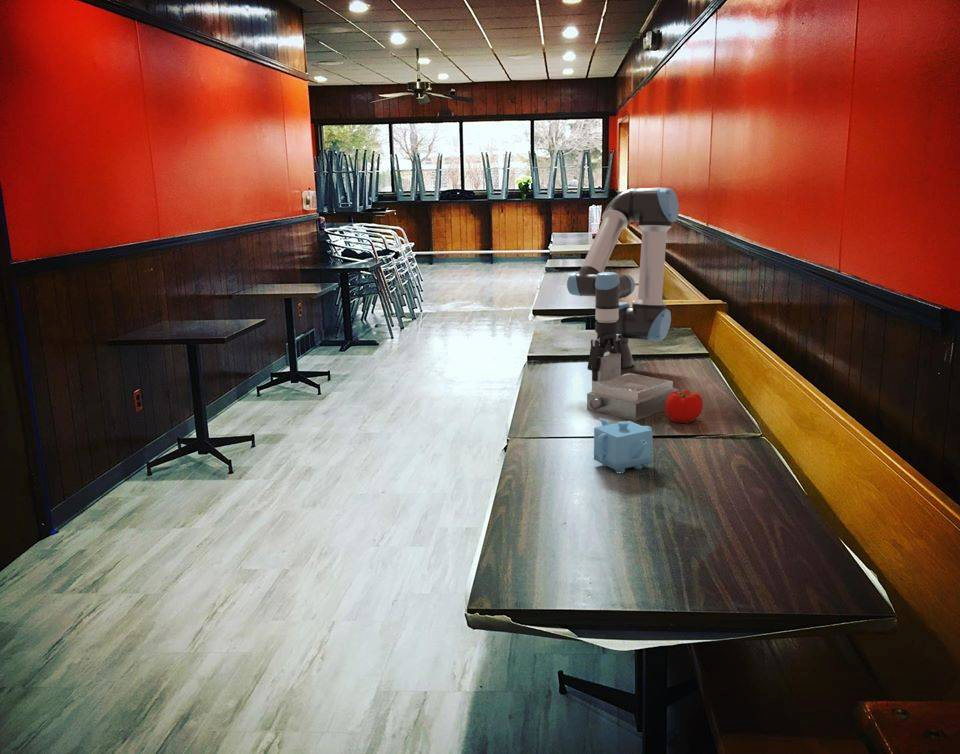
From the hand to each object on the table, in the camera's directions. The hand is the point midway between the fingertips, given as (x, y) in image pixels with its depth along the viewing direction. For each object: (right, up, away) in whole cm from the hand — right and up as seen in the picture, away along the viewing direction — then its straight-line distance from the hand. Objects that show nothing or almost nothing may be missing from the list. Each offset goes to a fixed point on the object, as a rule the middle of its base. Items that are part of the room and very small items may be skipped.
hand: (606, 387), depth 264 cm
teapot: (-7, -19, -67) cm, 70 cm away
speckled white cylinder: (0, -1, 0) cm, 1 cm away
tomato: (+17, -10, -34) cm, 39 cm away
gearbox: (+4, -6, -20) cm, 21 cm away
